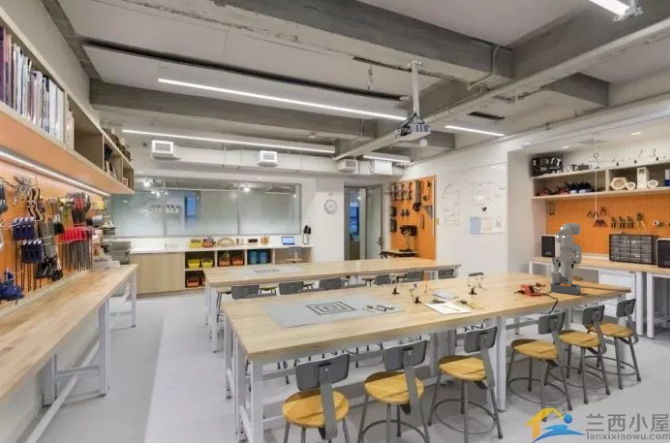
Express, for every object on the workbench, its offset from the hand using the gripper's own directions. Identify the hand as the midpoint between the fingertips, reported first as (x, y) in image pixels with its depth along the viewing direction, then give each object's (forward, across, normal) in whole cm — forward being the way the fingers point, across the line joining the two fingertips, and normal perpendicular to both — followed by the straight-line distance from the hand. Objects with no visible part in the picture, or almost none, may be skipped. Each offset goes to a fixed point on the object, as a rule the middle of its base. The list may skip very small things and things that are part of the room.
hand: (565, 267), depth 320 cm
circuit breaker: (+23, +8, -18) cm, 31 cm away
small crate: (+22, 0, +2) cm, 22 cm away
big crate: (+22, 0, +2) cm, 23 cm away
